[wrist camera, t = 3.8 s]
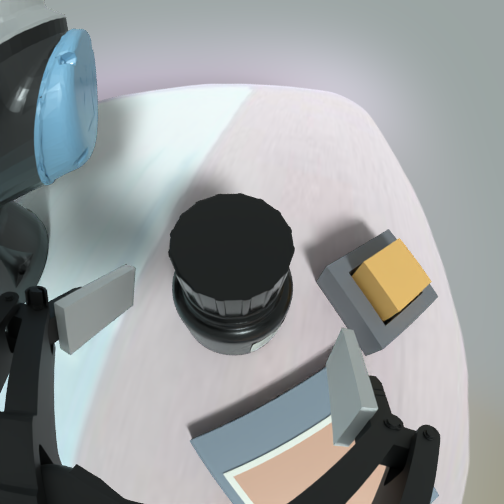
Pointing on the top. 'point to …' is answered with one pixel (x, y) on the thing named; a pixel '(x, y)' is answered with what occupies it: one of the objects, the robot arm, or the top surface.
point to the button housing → (357, 305)
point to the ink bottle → (232, 272)
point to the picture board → (280, 448)
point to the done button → (391, 279)
